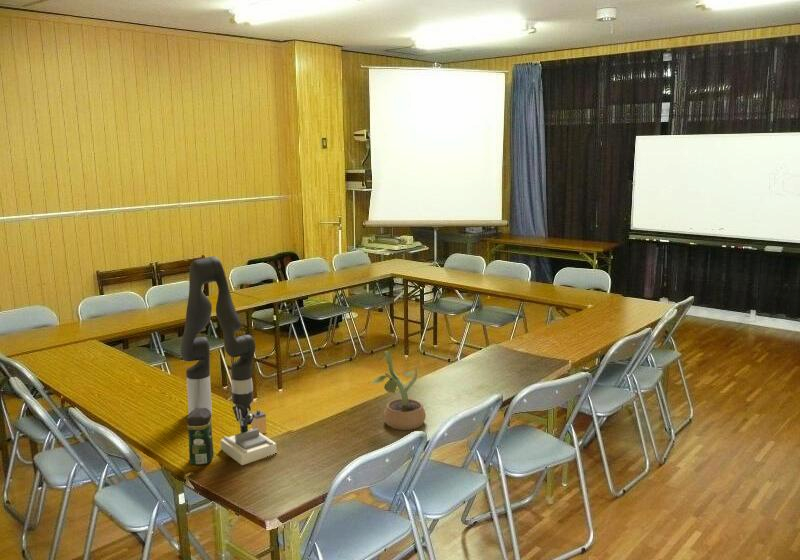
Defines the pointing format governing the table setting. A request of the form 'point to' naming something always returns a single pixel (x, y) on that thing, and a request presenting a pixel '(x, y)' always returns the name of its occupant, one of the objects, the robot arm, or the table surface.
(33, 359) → the table surface
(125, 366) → the table surface
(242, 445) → the shutter
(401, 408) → the potted plant
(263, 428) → the plug
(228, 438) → the socket
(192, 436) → the coffee jar
